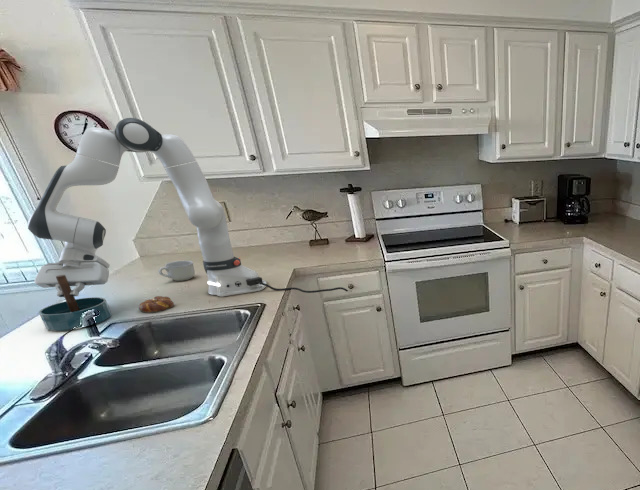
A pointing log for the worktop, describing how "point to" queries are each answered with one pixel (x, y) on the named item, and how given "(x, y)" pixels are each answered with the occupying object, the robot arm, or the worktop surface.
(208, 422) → the worktop surface
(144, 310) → the pretzel
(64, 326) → the bowl
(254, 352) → the worktop surface
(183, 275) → the teacup
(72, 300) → the stirring stick
